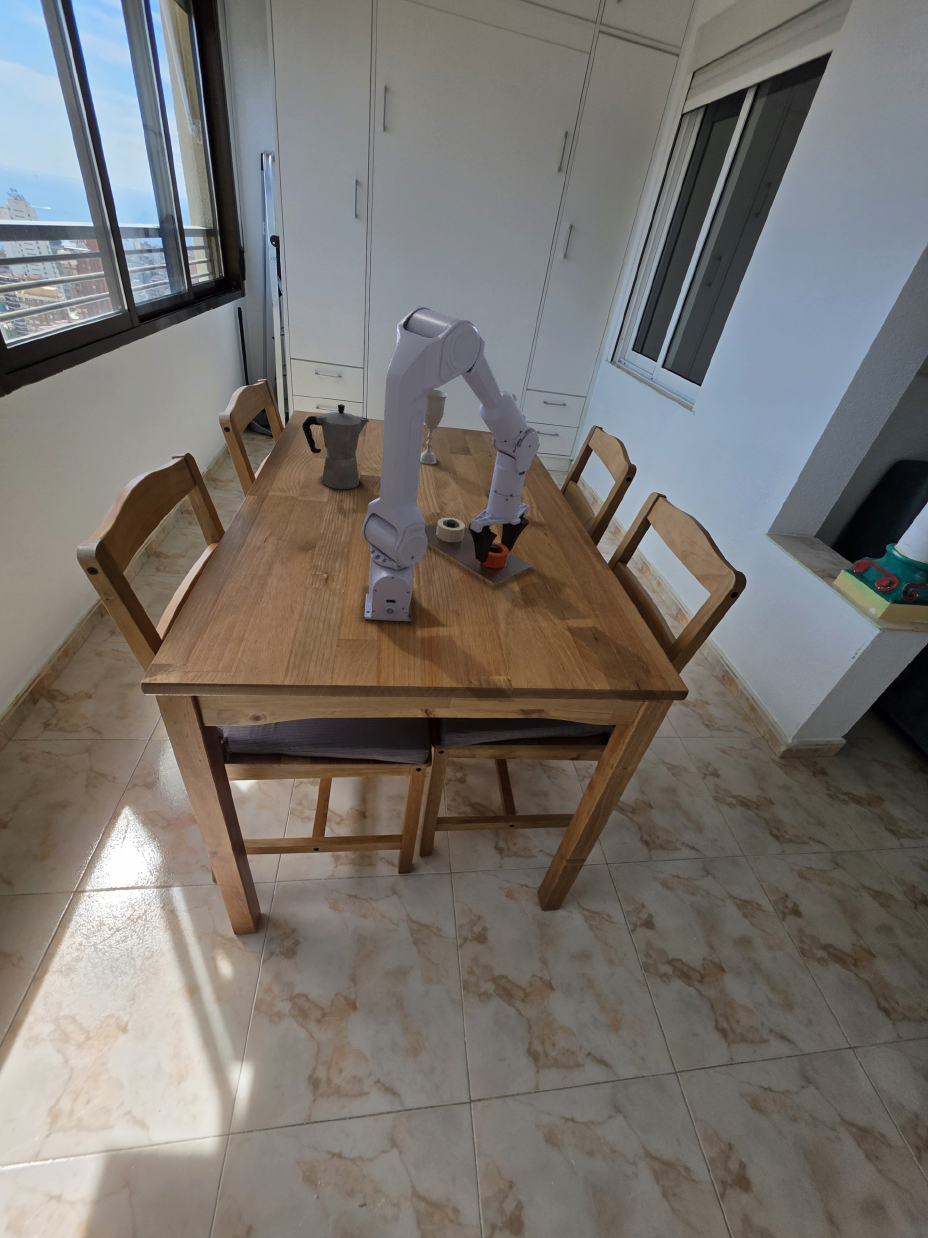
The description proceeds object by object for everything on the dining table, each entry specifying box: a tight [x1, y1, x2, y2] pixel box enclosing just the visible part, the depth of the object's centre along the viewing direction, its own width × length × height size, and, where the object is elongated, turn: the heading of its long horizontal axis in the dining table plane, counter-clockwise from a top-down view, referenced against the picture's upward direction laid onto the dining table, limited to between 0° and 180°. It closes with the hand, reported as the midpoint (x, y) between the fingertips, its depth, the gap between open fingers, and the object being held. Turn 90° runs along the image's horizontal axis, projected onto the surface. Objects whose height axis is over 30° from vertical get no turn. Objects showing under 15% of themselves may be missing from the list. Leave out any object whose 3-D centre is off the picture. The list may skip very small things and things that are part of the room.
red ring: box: [479, 541, 509, 568], centre depth 105 cm, size 6×6×3 cm
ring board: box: [425, 519, 534, 585], centre depth 108 cm, size 24×12×4 cm, turn 46°
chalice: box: [420, 388, 449, 465], centre depth 143 cm, size 7×7×18 cm
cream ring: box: [436, 517, 466, 542], centre depth 111 cm, size 6×6×3 cm
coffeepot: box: [301, 404, 370, 490], centre depth 123 cm, size 15×9×18 cm, turn 121°
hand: (493, 555), depth 105 cm, fingers open, 7 cm apart
